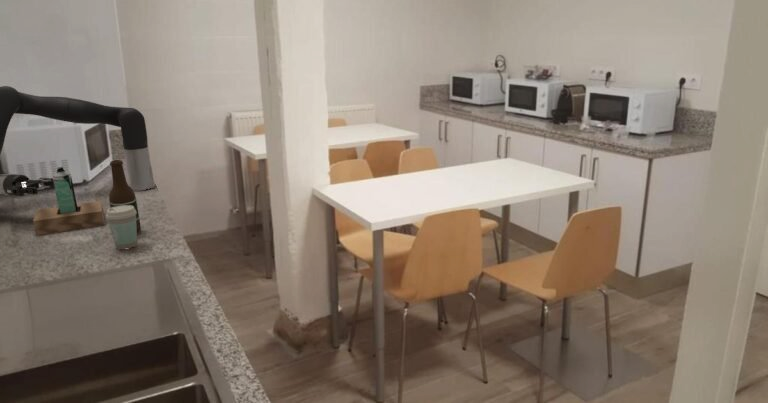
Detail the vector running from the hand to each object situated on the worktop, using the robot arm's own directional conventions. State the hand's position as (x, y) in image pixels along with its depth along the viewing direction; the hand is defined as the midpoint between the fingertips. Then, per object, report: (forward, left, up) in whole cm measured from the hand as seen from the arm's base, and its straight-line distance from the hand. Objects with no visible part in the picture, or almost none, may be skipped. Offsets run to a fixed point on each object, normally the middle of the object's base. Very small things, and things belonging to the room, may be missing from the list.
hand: (47, 187), depth 191 cm
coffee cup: (-21, +38, -13) cm, 46 cm away
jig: (-5, +5, -13) cm, 15 cm away
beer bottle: (-22, +25, -13) cm, 36 cm away
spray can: (-5, +5, -13) cm, 15 cm away
